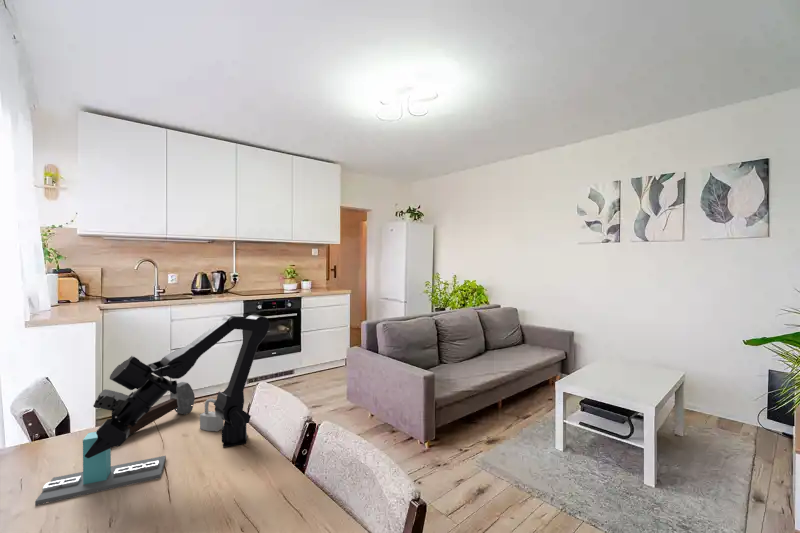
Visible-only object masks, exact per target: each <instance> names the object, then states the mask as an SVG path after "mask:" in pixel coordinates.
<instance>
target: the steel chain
mask: <svg viewBox="0 0 800 533" xmlns="http://www.w3.org/2000/svg"><path fill="white" fill-rule="evenodd" d="M158 465H159V460H158V461H153V462H148V463H143V464H138V465H133V466H128V467H123V468H118V469H116V470H115V472H114V474H113V477H115V476H120V475H125V474H130V473H135V472H139V471H144V470H149V469H154V468H158ZM80 480H81V476H78V477H73V478H68V479H63V480H58V481H53V482H50V481H49V482H46V483H45V484H44V485H43V487H42V488H41V489H42V492H43V491H48V490H53V489H58V488H62V487H67V486H72V485H77V484H78V483H79V482H80ZM42 492H41V493H42Z"/></svg>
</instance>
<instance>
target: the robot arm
mask: <svg viewBox="0 0 800 533" xmlns="http://www.w3.org/2000/svg"><path fill="white" fill-rule="evenodd" d="M270 328H271V322H270V320H269V318H267V317H266V316H263V315H259V314H251V315H248V316H238V315H236V316H235V315H229V314H227V315H225V316H224V317H222V318H221V320H219V321H218V322H217V323H216V324H214V325H213V326H211V328H209V329H208V330H206V331H205V332H204V333H202V334H201V335H200V336H198V337H197V338H196V339H195V340H193V341H192V342H190V343H189V344H187V345H186V346H183V347H180V348H178V349H175V350H174V351H172V352H170V353H169V354H167V355H164V356H163V357H162V359H160V360H158V361H155V362H152V363H148V364H145V363H144V362H143V361H141V360H140V359H139V358H138V357H135V355H131V356H130V357H129V358H128V359H126V360H124V361H123V362H121V363H120V364H118V365H117V366H116V367H115V368H114V369H113V371H112V372H111V374H110V375H109V380H110V381H112V382H114V383H116V384H118V385H120V386H122V387H124V389H127V390H130V391H132V392H130V394H129V395H128V394H124V393H123V392H118V391H115V390H111V389H103V390H102V391H100V393H99V394H98V397H97V399H96V400H94V404H93V405H92V406H93V408H96V409H102V410H107V411H111V418H108V419H106V420H105V421H104V422H103V423H102V424H101V425H100V426H99V427H98V429H97V430H96V431H95V432H96V434H97V437H98V438H97V440H96V441H95V443H94V444H93V445H92V446H91V448H90V449H89V450H88V452H87V453H86V454H85V457H86V458H91V457H93V456H95V455H97V454H99V453H101V452H103V451H106V450H108V449H110V448H111V449H113V448H115V447H120V446H121V445H123V443H124V442H125V441H126V440H127V439H128V437H130V436H129V434H130V428H128V427H127V426H129V425H131V426H132V427H133V426H134V425H135V424H136V423H137V421H138V420H139V419H140V418H141V417H142V416H143V415H144V414H145V413H147V412H148V411H149V410H150V409H151V407H153V406H155V404H156V403H157V402H158V401H159V400H160V399H161V398H162V397H163V396H164V395H165V394H166V393H167V392H170V394H171V393H173V394H176V393H177V390H176V388H177V384H178V381H177V379H181V378H182V377H184V376H185V375H187V374H188V372H190V370H191V369H192V368H194V366H195V364H196V363H197V361H198V359H199V358H201V357H202V355H204V354H205V353H206V352H208V351H209V350H210V349H211V348H212V347H214V346H215V345H216V344H217V343H219V342H220V341H221V340H222V339H223V338H225V337H226V336H228V335H229V334H231V332H232V331H234V330H241V332H242V344H241V346H240V349H239V352H238V355H237V359H236V361H235V364H234V366H233V371H232V373H231V376H230V379H229V382H228V385H227V386H226V388H225V389H224V391H223V392H222V391H218V392H217V396H216V399H215V400H216V402H215V403H213V405H214V412H216V413H217V414H218V415H219V416H220V417H221V418H222V419H223V420H224V426H223V427H222V429H221V443H222V447H223V448H226V447H227V448H228V447H233V446H240V445H246V444H247V441H248V433H247V432H248V430H247V428H248V427H247V425H248V424H249V422H250V421H251V417H252V415H251V414H249V413H247V412H246V411H245V410H244V405H245V393H244V390H245V386H246V383H247V381H248V378H249V375H250V371H251V369H252V366H253V363H254V360H255V356H256V353H257V350H258V347H259V345H260V344H261V343H262V341H263V340H264V339H265V338H266V336H267V334H268V332H269V330H270ZM166 377H168V378H169V379H173V380H169V379H167V378H166ZM135 389H136V390H135ZM133 390H134V391H133Z"/></svg>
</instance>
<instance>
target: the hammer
mask: <svg viewBox="0 0 800 533" xmlns="http://www.w3.org/2000/svg"><path fill="white" fill-rule="evenodd" d="M176 390H177V393H176V394H173V393H171V392H170V396H169V399H168V400H164V401H163V402H161V403H157V404H156V405H155V404H154V405H153V406H152V407H151V409H150V410H149V411H148V412H147V413H145V414H144V415H143V416H142V417H141V418H140V419H139V420H138V421H137V423H136V424H135V425H134V426H133V427H132V426H131V425H129V426H127V427H128V428H130V434H129V436H128V437H130V436H131V435H133V434H136V433H137V432H138V431H140V430H142V429H143V428H145V427H147V426H149V425H150V424H152V423H153V422H155V421H157V420H158V419H160V418H161V417H164V416H165V415H167V414H169V413H170V412H172V411H173V410H174V411H175V412H176V414H177V413H178V414H181V415H184V414H185V415H188V414H191V412H192V411H193V410H194V409H193V408H194V405H195V399H196V398H195V392H194V390H193V388H192V386H191V385H190V384H189V382H185V381H181V382H177V388H176ZM191 405H193V406H191ZM176 409H177V410H176ZM185 415H184V416H185Z"/></svg>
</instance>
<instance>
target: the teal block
mask: <svg viewBox="0 0 800 533" xmlns="http://www.w3.org/2000/svg"><path fill="white" fill-rule="evenodd" d="M97 438H98V437H97V434H96V431H92V432H88V433H87V434H86V435H85V436H84V438H83V439H82V472H83V485H84V484H89V483H94V482H99V481H104V480H106V479H107V478H108V476H109V474H110V472H111V466H112V458H111V456H112V451H111V450H112V448H110V449H108V450H106V451H103V452H101V453H99V454H97V455H95V456H93V457H91V458H86V457H85V454H86V453H87V452H88V450H89V449H90V448H91V446H92V445H93V444H94V443H95V441H96V440H97Z"/></svg>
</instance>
